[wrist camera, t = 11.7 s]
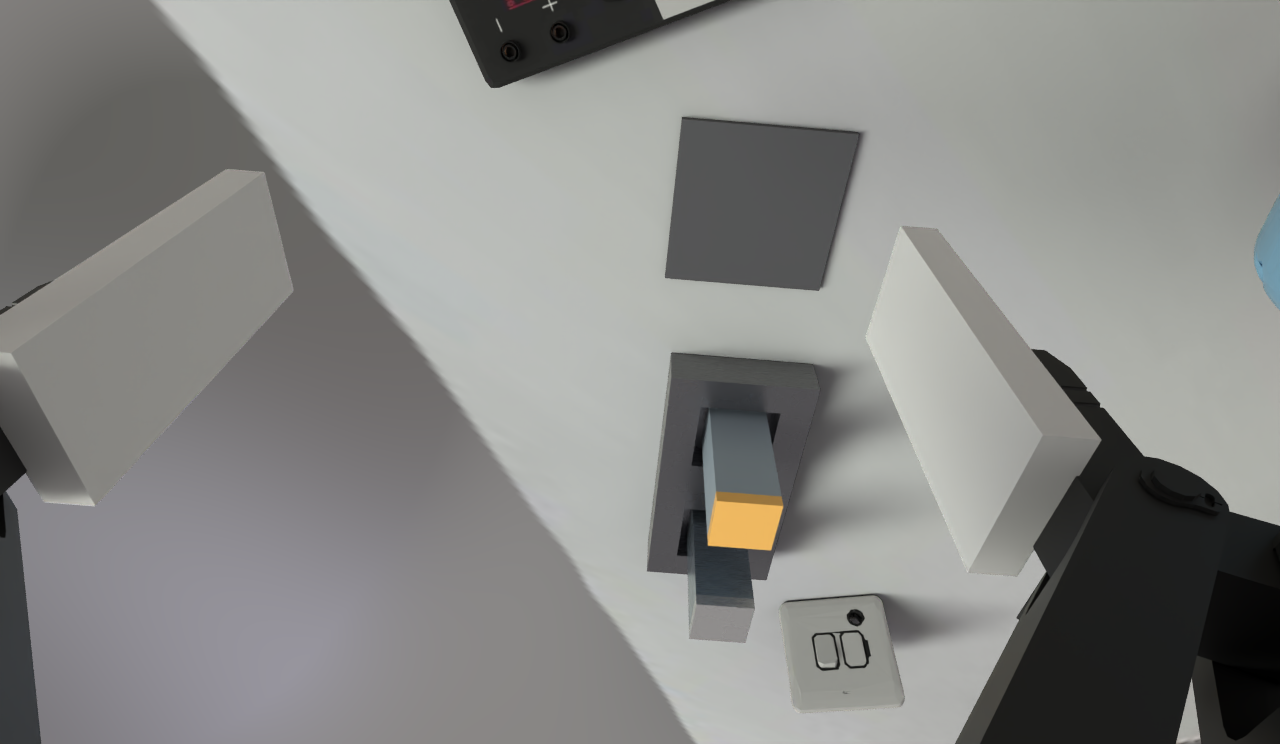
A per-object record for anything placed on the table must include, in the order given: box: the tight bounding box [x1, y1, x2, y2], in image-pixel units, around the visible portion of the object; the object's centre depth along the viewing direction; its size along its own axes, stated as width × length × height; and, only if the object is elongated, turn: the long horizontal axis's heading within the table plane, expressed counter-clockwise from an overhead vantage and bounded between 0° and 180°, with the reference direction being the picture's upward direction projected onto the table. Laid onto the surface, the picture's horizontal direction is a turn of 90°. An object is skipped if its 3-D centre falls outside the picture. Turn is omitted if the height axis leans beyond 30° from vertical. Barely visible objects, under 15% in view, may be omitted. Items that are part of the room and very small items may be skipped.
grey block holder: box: [647, 353, 820, 643], centre depth 49 cm, size 10×20×11 cm, turn 176°
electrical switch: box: [779, 595, 905, 713], centre depth 61 cm, size 9×5×9 cm, turn 100°
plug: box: [702, 408, 783, 550], centre depth 46 cm, size 4×4×10 cm
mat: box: [665, 117, 859, 291], centre depth 42 cm, size 10×10×1 cm
